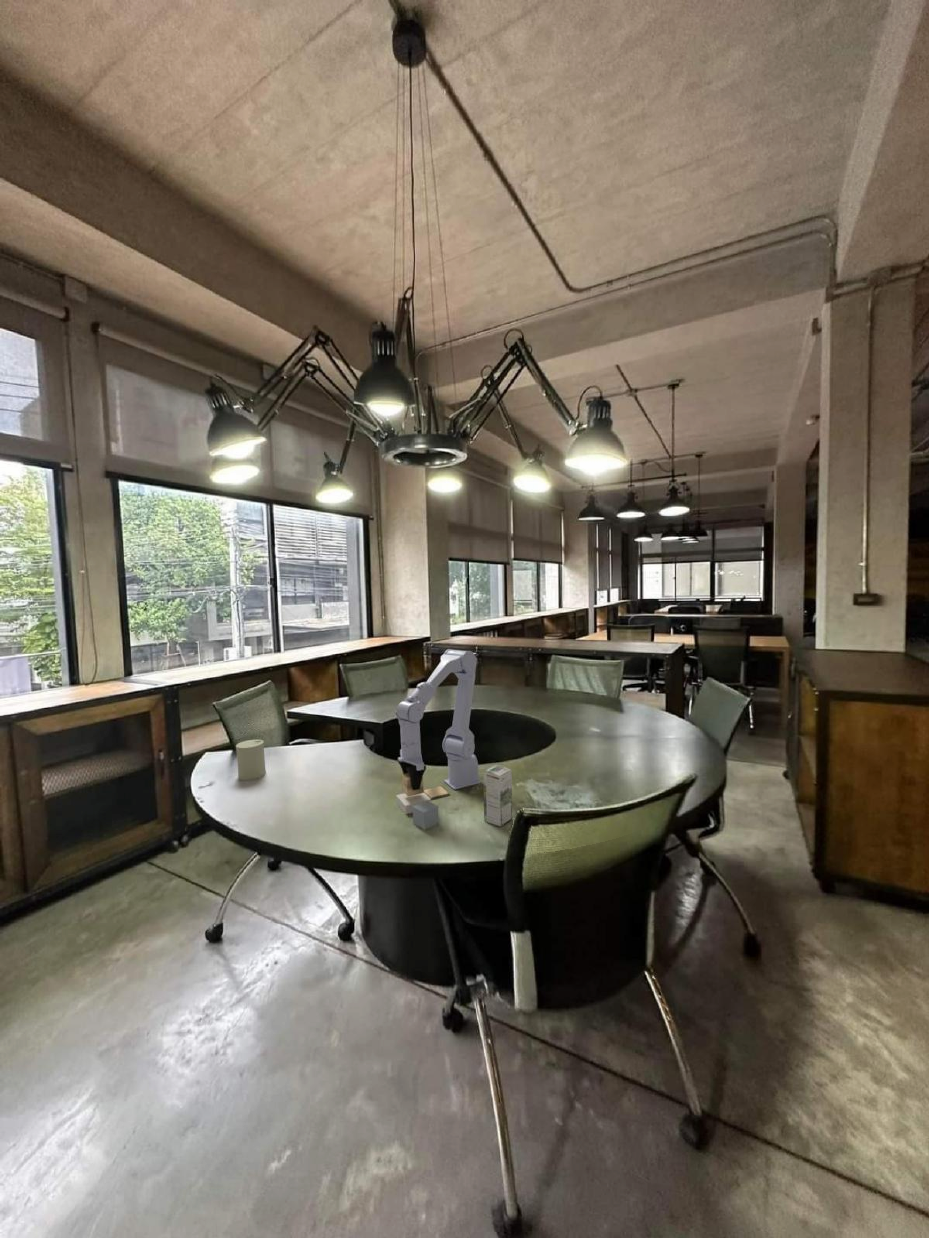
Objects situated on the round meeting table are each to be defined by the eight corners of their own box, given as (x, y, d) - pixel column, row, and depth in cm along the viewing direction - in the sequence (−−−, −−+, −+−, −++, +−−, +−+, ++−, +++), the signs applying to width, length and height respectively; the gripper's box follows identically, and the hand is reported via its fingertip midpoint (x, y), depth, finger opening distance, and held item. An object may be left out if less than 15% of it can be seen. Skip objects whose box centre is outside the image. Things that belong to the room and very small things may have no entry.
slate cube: (427, 817, 140) (426, 800, 139) (438, 823, 136) (438, 806, 136) (413, 823, 137) (412, 806, 136) (424, 830, 133) (423, 812, 132)
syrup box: (496, 813, 141) (494, 764, 139) (513, 819, 137) (511, 768, 136) (483, 821, 136) (482, 770, 135) (501, 827, 132) (499, 775, 131)
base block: (421, 798, 153) (420, 789, 153) (431, 808, 146) (430, 799, 145) (396, 804, 149) (396, 795, 149) (405, 815, 142) (405, 805, 142)
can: (270, 774, 176) (268, 741, 175) (244, 782, 169) (242, 748, 168) (259, 767, 182) (257, 736, 181) (233, 775, 176) (231, 742, 175)
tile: (441, 787, 160) (441, 785, 160) (450, 795, 154) (450, 793, 154) (421, 792, 157) (421, 790, 157) (430, 800, 151) (430, 798, 150)
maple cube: (417, 786, 150) (417, 770, 150) (423, 792, 146) (422, 776, 146) (402, 790, 148) (401, 774, 148) (407, 796, 144) (406, 779, 143)
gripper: (389, 737, 151) (391, 780, 152) (406, 751, 138) (408, 798, 139) (411, 733, 154) (413, 775, 155) (429, 746, 141) (431, 792, 142)
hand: (412, 785), depth 147 cm, fingers closed on maple cube, 5 cm apart
